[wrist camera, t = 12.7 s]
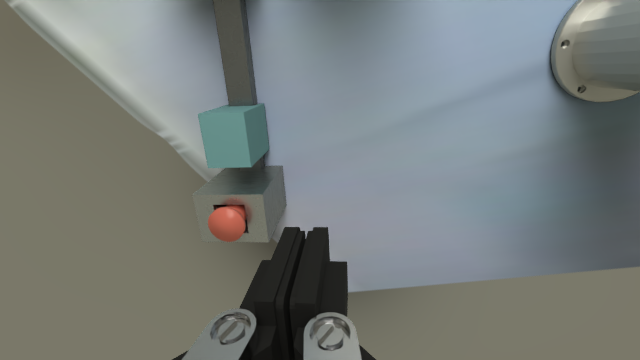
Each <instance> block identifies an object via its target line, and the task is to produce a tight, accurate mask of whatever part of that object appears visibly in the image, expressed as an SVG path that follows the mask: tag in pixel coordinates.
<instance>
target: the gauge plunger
mask: <svg viewBox="0 0 640 360" xmlns="http://www.w3.org/2000/svg"><path fill="white" fill-rule="evenodd" d="M245 220H246V212H245V206H244V205H226V206H225V207H220V208H217V209H216V210H215V211H213V213H212V214H211V215H210V216H209V219H208V227H209V229H210V231H211V233H212V234H213V235H214V236H215V237H216V238H218V239H220V240H222V241H226V242H232V241H236V240H238V239H239V238H240V237H241V236H242V234H243V233H244V231H245V228H246V222H245Z"/></svg>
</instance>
